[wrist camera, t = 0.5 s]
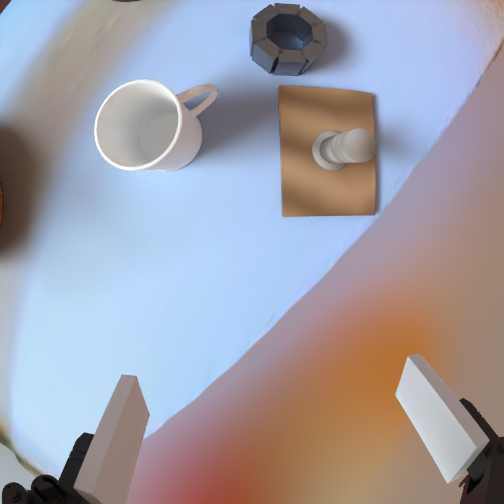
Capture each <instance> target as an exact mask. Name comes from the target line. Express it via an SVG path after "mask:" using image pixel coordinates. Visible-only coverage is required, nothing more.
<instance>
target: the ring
mask: <svg viewBox="0 0 504 504" xmlns="http://www.w3.org/2000/svg"><path fill="white" fill-rule="evenodd" d="M322 22H323V21H322V20H321V19H319V18H318V17H317V16H316V15H314V14H313V13H312V12H310V11H309V10H308V9H307V8H305V7H302V8H301V9H300V5H295V4H280V3H275V4H274V6H272V5H271V4H270V5H269V6H267V7H266V8H264V9H263V10H262V11H260V12H259V13H258V14H256V15H255V16H254V17H253V20H251V28H250V37H249V39H250V56H252V60H253V61H254V62H256V63H257V64H258V65H259V66H261V67H262V68H263V69H264V70H266V71H267V72H268V73H269V74H270V73H271V72H272V71H273V75H286V76H297V75H298V73H299V74H300V75H301V74H302V73H303V72H304V71H305V70H306V69H308V68H309V67H310V66H311V65H312V64H313V63H314V62H315V61H316V60H317V59H318V58H319V56H320V55H321V54H322V52H323V51H324V50H325V49H326V46H327V37H326V29H325V25H324V24H321V23H322ZM273 31H288V32H291V33H293V34H294V35H295V36H296V37H298V38H299V39H300V40H301V41H303V49H302V50H286V49H281V48H279V47H278V46H277V45H276V44H274V43H273V42H272V41H270V40H269V39H268V38H267V36H268V35H269V34H270V33H272V32H273Z"/></svg>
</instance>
